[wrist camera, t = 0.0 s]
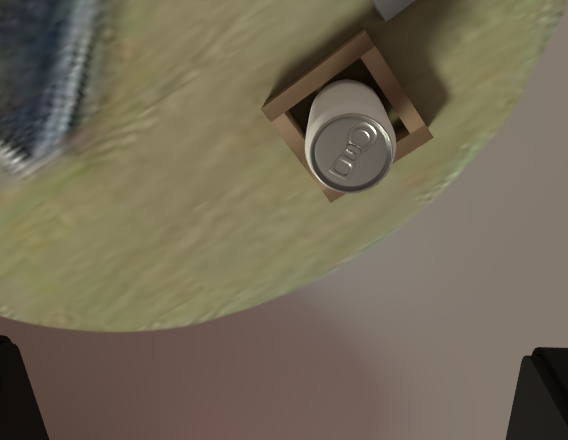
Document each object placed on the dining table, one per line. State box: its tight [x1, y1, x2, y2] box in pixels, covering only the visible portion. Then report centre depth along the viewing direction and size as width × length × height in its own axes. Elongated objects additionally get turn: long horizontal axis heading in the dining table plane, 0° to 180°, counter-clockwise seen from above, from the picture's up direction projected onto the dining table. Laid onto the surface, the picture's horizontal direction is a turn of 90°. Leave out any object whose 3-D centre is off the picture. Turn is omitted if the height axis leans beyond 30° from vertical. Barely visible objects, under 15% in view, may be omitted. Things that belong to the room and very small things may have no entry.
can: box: [305, 79, 396, 193], centre depth 38 cm, size 6×6×12 cm
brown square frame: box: [261, 28, 434, 202], centre depth 43 cm, size 10×10×3 cm
